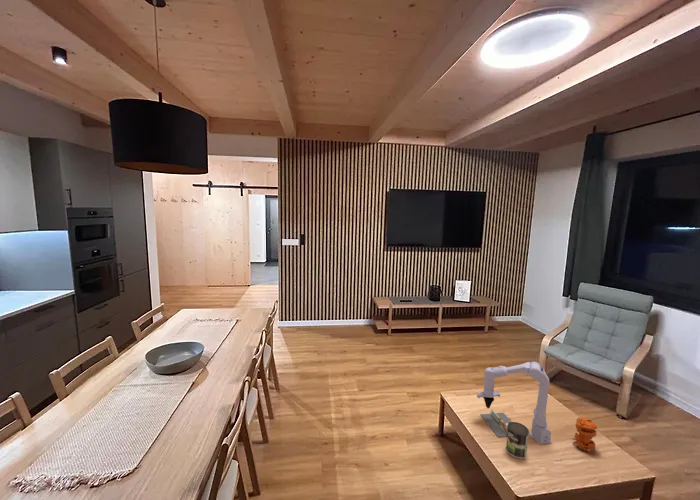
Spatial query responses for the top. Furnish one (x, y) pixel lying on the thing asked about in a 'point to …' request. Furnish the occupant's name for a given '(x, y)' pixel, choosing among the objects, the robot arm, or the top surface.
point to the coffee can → (517, 440)
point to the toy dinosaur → (585, 433)
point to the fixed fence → (503, 424)
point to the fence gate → (495, 415)
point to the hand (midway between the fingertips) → (487, 407)
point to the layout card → (496, 423)
